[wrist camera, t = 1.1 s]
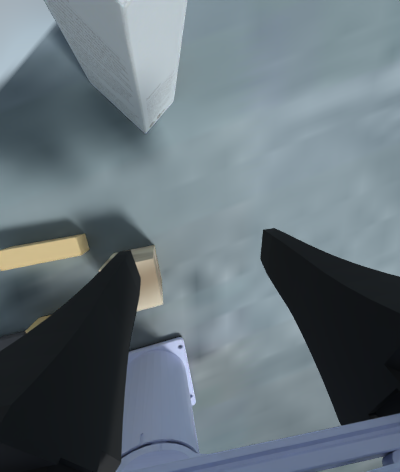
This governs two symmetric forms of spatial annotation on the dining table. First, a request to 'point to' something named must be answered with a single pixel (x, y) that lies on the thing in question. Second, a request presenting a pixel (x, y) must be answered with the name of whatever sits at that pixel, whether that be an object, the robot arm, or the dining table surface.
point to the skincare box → (126, 50)
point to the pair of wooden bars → (42, 255)
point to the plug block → (146, 277)
